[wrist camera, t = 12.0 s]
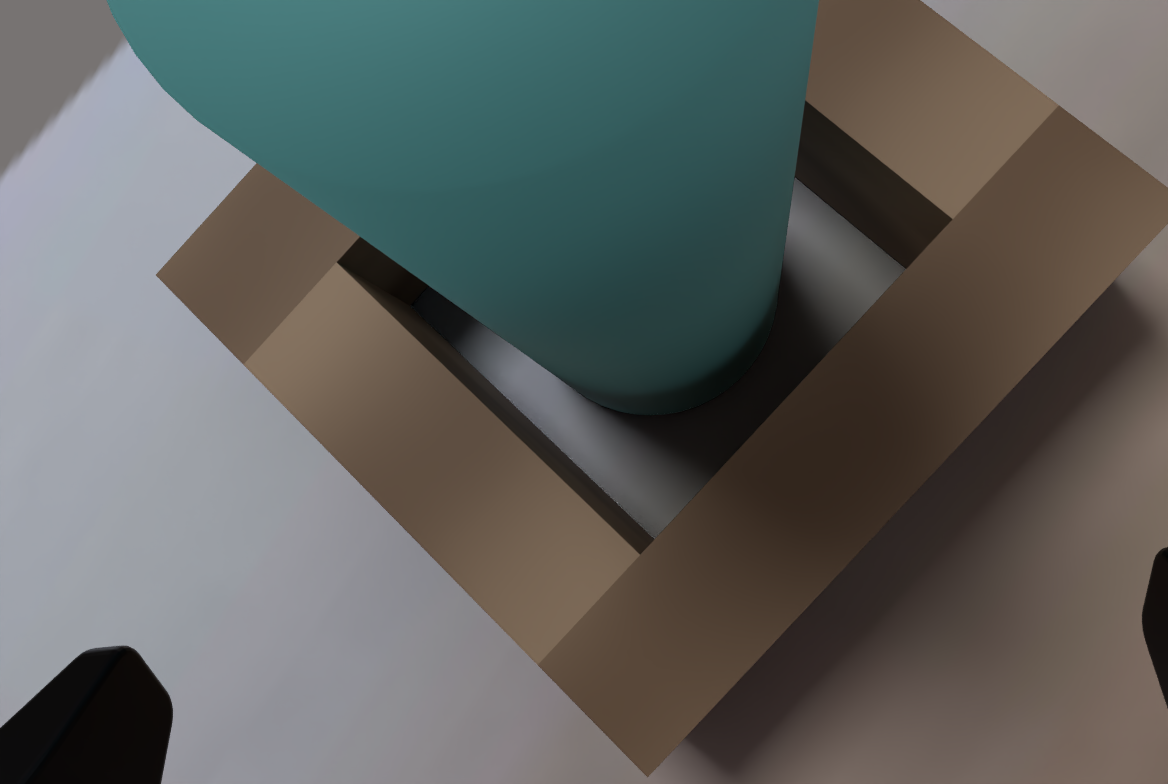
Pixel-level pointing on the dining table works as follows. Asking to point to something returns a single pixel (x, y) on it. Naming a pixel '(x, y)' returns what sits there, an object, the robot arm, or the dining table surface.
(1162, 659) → the robot arm
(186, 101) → the peg
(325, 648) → the dining table surface
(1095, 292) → the block
